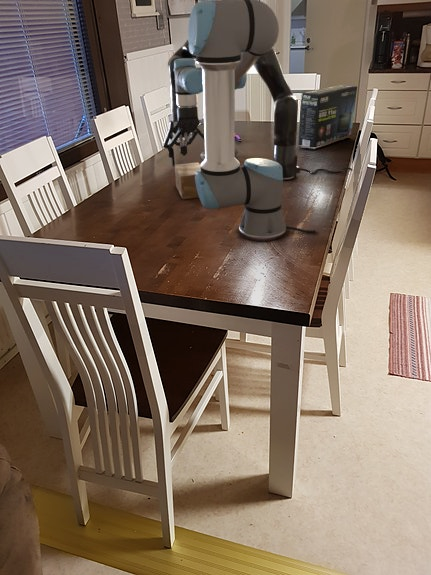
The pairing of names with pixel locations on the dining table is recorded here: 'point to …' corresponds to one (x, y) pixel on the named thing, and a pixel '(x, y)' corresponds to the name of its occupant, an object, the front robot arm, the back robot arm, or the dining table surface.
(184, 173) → the tan wooden block
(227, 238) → the dining table surface
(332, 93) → the router box
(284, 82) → the back robot arm
